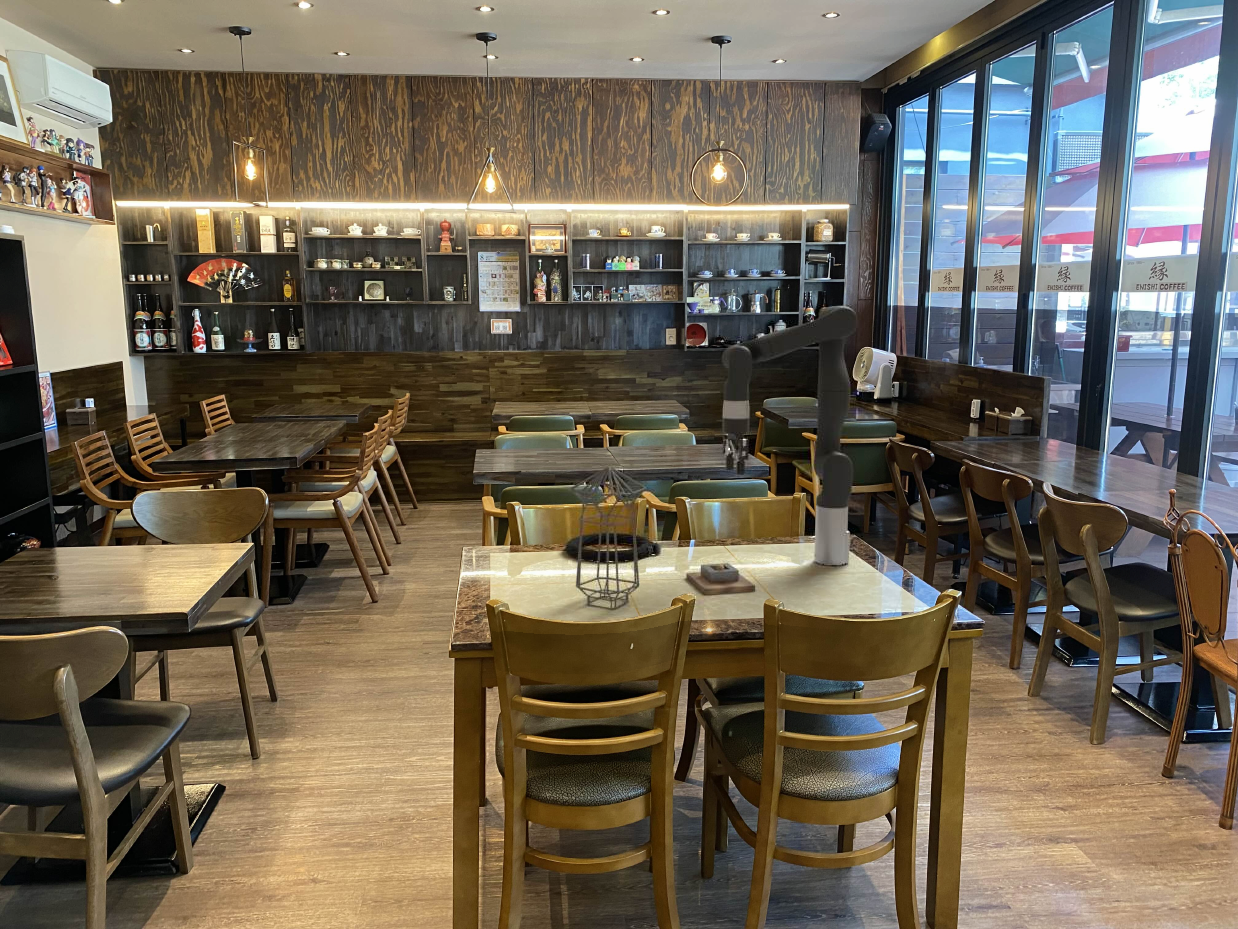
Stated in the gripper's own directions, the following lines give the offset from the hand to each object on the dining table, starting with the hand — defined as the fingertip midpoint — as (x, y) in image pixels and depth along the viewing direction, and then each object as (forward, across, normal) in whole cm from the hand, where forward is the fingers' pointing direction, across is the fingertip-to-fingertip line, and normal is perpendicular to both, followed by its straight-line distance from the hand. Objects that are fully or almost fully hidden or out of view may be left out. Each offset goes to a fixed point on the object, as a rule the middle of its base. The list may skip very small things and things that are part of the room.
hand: (734, 472), depth 256 cm
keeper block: (+28, -16, +10) cm, 34 cm away
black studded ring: (+29, +26, +30) cm, 49 cm away
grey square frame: (+27, -15, +10) cm, 32 cm away
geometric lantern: (+28, -24, +43) cm, 57 cm away
